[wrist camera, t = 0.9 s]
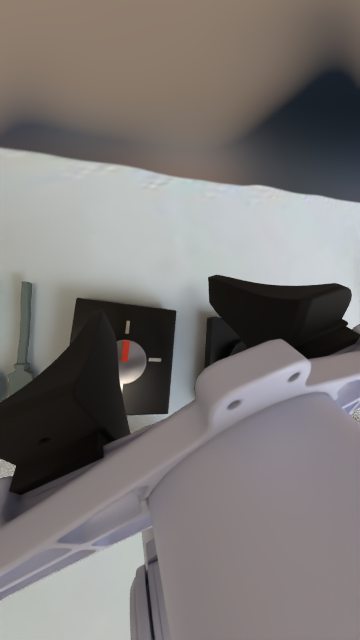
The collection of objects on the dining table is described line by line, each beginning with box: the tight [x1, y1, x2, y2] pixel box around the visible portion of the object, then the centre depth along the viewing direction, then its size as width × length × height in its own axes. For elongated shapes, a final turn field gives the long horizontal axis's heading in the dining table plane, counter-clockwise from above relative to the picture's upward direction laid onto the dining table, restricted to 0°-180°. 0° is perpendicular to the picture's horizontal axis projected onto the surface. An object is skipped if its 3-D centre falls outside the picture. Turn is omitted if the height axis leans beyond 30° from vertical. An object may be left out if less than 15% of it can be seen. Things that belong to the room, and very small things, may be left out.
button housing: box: [204, 317, 248, 369], centre depth 26 cm, size 12×10×4 cm
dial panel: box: [70, 298, 176, 415], centre depth 22 cm, size 12×11×3 cm
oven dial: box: [117, 340, 146, 384], centre depth 19 cm, size 4×4×4 cm
